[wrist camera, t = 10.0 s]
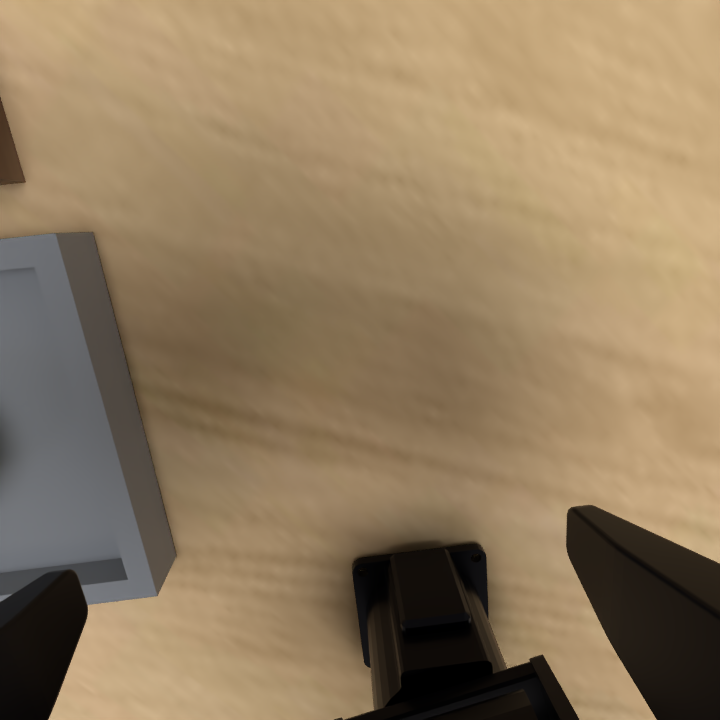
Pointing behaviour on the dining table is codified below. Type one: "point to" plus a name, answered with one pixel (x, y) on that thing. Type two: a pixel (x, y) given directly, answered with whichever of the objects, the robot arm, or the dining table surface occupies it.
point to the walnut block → (8, 154)
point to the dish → (72, 430)
